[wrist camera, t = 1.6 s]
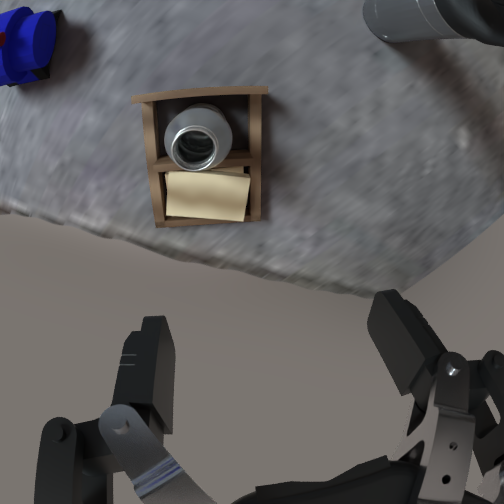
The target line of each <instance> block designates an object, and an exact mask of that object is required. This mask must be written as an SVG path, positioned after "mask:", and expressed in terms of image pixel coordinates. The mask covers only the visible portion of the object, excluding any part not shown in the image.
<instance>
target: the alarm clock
mask: <svg viewBox="0 0 504 504" xmlns="http://www.w3.org/2000/svg"><path fill="white" fill-rule="evenodd" d="M60 12H61V10H58V11H54V12H51V11H44V12H40V13H36V14H34V13H33V11H32V10H31V9H30V8H29V7H20V8H17V9H14V10H11V11H8V12H5V13H2V14H0V86H3V85H8V86H9V87H11V86H15V85H19V84H23V83H28V82H32V81H37V80H42V79H48V78H50V77H49V69H48V62H49V60H50V58H51V56H52V53H53V50H54V45H55V38H56V20H57V18H58V16H59V14H60Z"/></svg>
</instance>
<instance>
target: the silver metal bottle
mask: <svg viewBox="0 0 504 504" xmlns="http://www.w3.org/2000/svg"><path fill="white" fill-rule="evenodd" d="M164 143H165V148H166V152H167V153H168V155H169V157H170V158H171V159H172V160H173V162H175V163H176V164H177V165H178V166H179V167H180V168H182V169H184V170H187V171H201V170H207V169H210V168H212V167H215V166H216V165H218V164H219V163H221V162H222V161H223V160H224V159H225V158H226V156H227V155H228V153H229V151H230V149H231V146H232V132H231V128H230V126H229V124H228V123H227V121H226V119H225V116H224V114H223V113H222V111H221V110H220V109H219V108H217V107H216V106H214V105H211V104H208V103H197V104H193V105H191V106H189V107H188V108H186V109H185V110H184V111H183V112H182V113H180V114H178V115H177V116H176V117H174V119H173V120H172V121H171V122H170V123H169V125H168V127H167V129H166V132H165V137H164Z"/></svg>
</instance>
